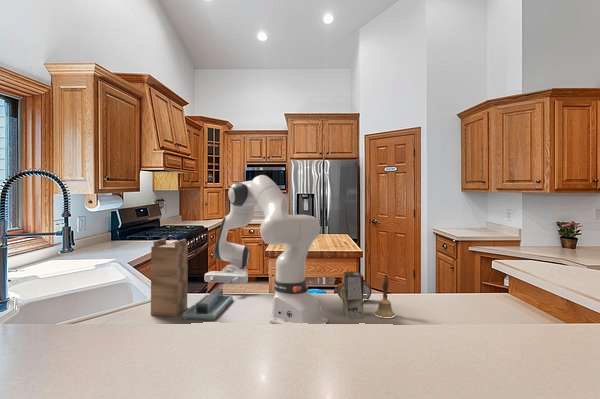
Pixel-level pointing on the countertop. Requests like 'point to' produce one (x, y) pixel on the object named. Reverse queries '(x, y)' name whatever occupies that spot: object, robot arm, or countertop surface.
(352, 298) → the coffee box
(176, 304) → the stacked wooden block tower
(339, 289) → the tin
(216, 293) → the gray rectangular bar
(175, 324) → the countertop surface
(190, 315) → the tray
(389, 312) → the hand bell
